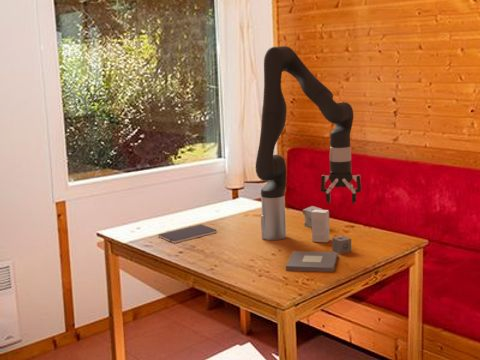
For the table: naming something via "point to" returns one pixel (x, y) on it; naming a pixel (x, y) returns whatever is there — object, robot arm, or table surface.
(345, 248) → the dice cube
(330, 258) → the plate
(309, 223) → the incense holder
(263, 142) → the robot arm
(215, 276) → the table surface
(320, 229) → the skincare box
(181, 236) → the notebook
